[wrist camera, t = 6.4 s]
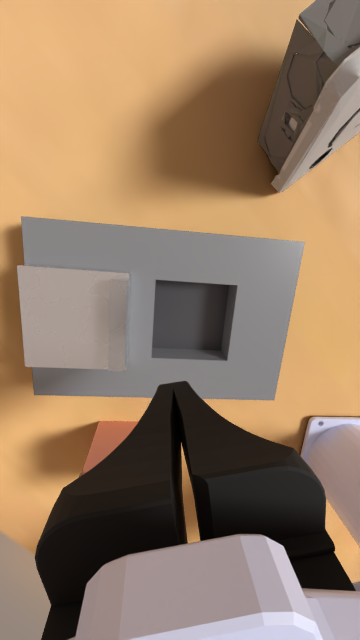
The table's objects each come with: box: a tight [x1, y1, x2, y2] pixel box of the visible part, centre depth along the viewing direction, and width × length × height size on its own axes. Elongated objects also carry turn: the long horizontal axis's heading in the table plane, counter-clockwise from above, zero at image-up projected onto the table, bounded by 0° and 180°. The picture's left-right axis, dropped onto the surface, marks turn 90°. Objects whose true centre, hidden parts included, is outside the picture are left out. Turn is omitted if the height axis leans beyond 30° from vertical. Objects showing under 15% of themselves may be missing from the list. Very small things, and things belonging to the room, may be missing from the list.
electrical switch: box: [257, 0, 360, 193], centre depth 13 cm, size 9×5×9 cm, turn 127°
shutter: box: [17, 264, 131, 371], centre depth 16 cm, size 6×6×2 cm
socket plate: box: [21, 216, 305, 400], centre depth 19 cm, size 18×12×2 cm, turn 85°
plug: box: [79, 421, 138, 477], centre depth 20 cm, size 4×4×7 cm
